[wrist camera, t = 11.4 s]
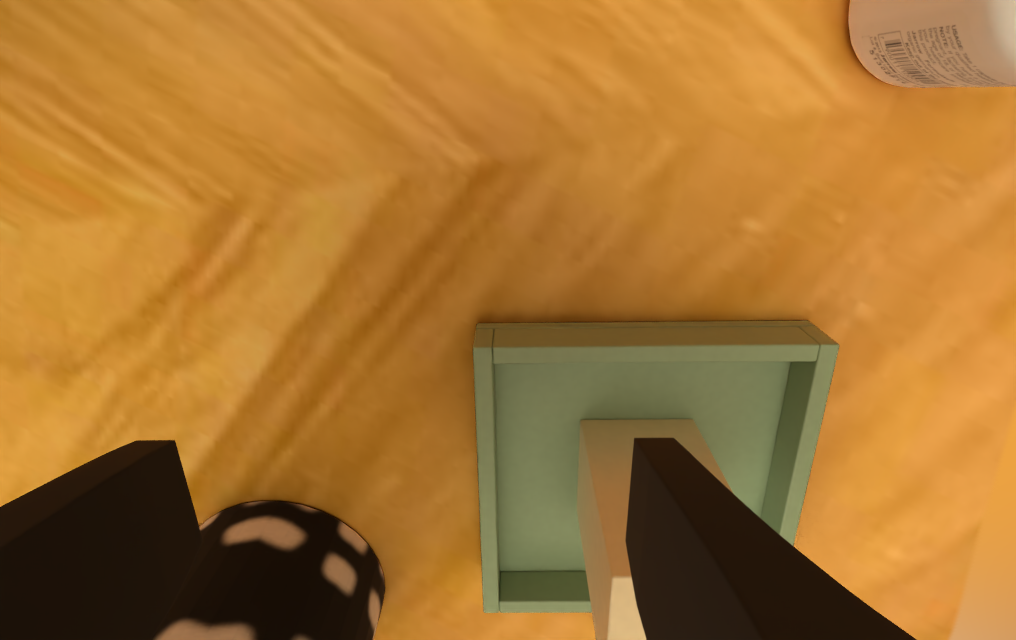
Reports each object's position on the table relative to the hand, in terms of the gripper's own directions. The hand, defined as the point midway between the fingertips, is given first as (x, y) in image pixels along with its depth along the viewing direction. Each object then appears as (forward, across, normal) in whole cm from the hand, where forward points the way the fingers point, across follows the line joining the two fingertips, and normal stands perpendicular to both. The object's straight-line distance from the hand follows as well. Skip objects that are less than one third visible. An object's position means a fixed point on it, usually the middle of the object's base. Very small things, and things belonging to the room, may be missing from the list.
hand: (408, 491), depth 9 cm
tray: (+10, -6, +7) cm, 14 cm away
